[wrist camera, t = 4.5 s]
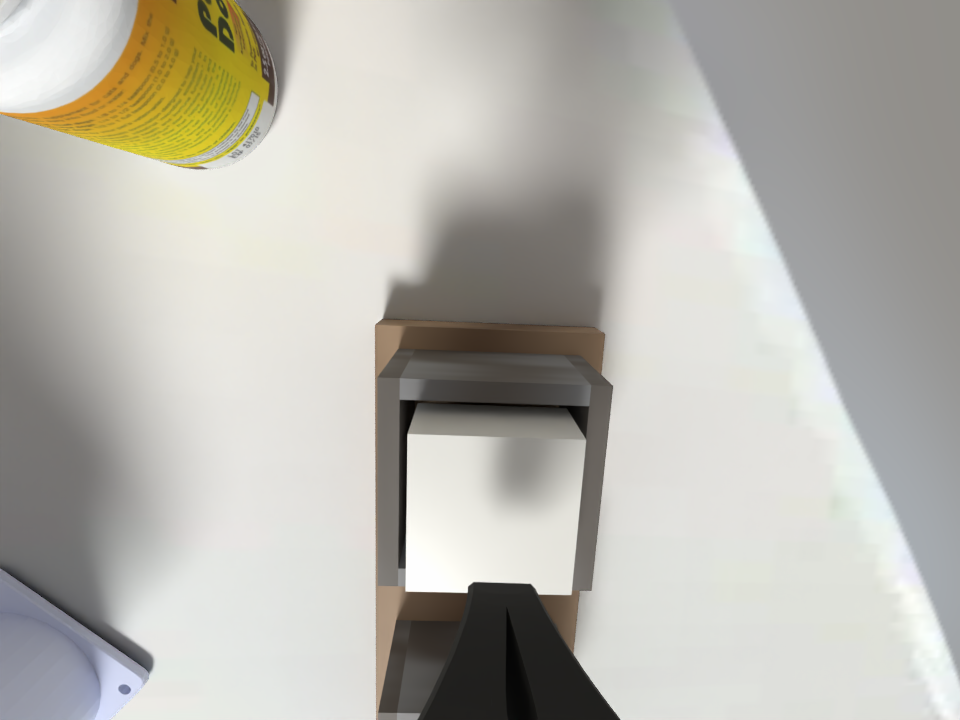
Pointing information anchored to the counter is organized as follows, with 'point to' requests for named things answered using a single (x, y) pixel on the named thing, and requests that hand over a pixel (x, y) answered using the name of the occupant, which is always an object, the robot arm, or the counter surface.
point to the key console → (398, 389)
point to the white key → (492, 497)
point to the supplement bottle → (141, 75)
